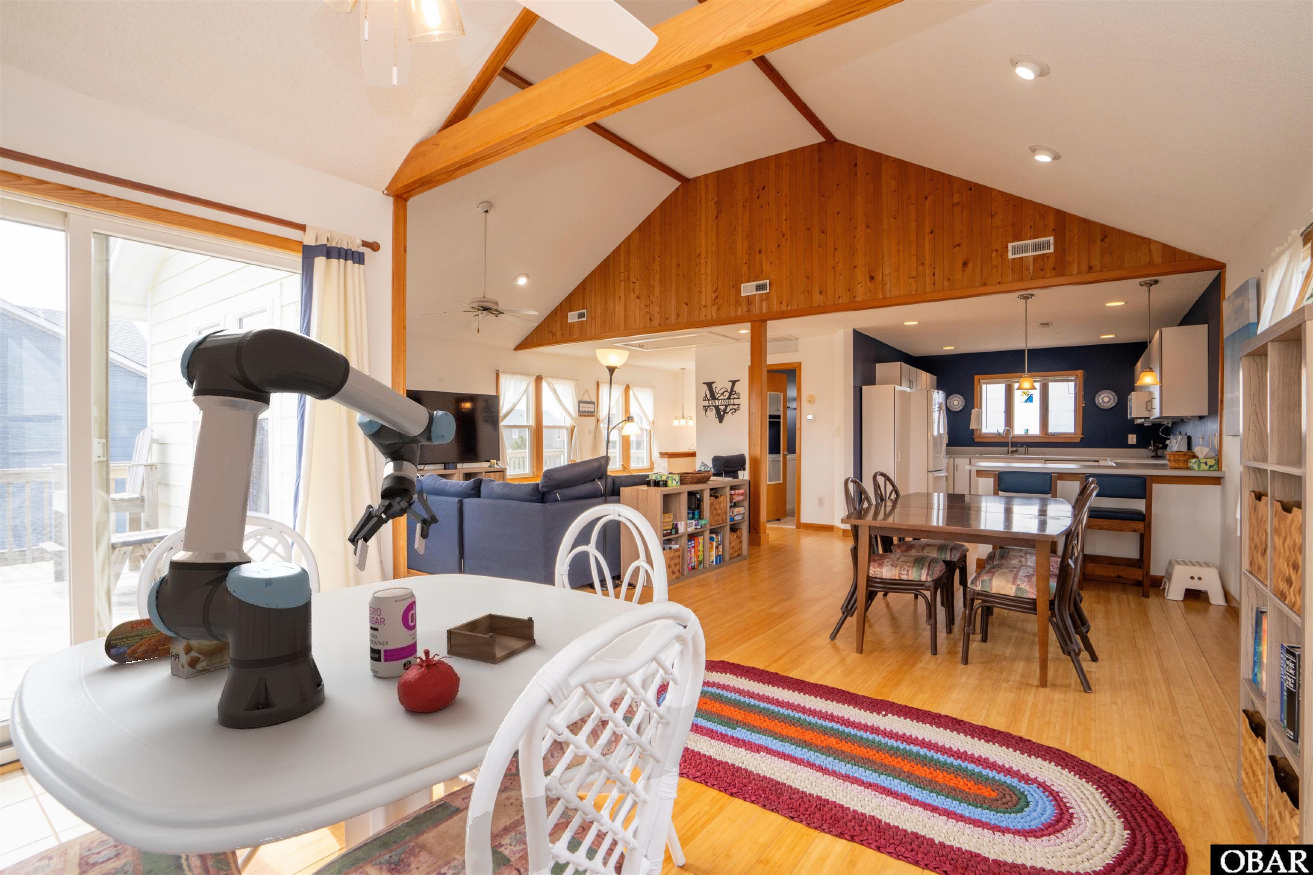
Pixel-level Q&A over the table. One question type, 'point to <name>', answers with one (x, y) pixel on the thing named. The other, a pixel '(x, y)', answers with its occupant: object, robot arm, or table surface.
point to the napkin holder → (490, 638)
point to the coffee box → (197, 656)
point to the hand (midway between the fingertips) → (389, 559)
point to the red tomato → (428, 685)
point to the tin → (136, 641)
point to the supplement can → (392, 631)
